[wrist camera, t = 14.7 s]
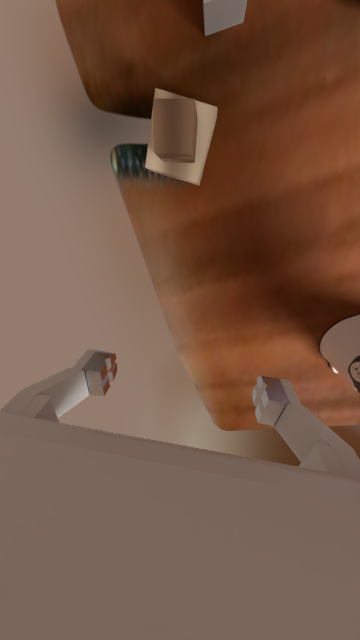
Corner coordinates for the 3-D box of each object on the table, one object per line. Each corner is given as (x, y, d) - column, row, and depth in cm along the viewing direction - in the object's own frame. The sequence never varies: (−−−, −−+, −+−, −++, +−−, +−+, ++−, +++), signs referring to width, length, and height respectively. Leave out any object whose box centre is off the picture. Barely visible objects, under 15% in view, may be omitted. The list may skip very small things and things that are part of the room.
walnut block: (197, 118, 28) (195, 98, 23) (194, 163, 30) (191, 153, 25) (163, 118, 28) (153, 98, 23) (163, 161, 31) (153, 152, 26)
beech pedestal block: (216, 118, 30) (217, 107, 27) (199, 186, 35) (198, 183, 32) (161, 101, 30) (155, 87, 27) (151, 171, 35) (145, 167, 32)
